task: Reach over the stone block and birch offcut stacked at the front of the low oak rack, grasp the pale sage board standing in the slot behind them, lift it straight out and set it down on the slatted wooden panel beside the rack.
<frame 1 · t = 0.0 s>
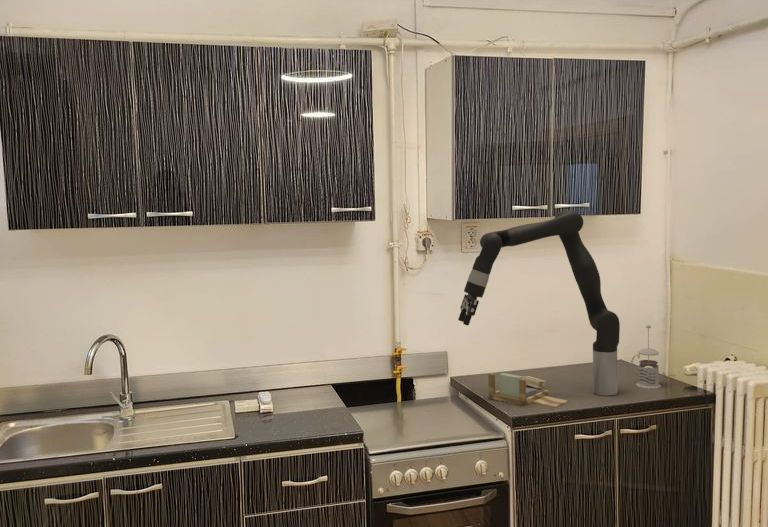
hand: (463, 322, 269), 31 cm above the counter, tool tilted 20°, fingers open, 8 cm apart
sage board: (511, 400, 273), resting in oak rack
birch offcut: (532, 385, 280), point 4 cm above the counter, tilted 12°, touching stone block
stone block: (527, 395, 281), on the counter, touching birch offcut
slatted wooden panel: (550, 402, 268), on the counter
french press: (646, 385, 287), on the counter
oak rack: (518, 397, 277), on the counter
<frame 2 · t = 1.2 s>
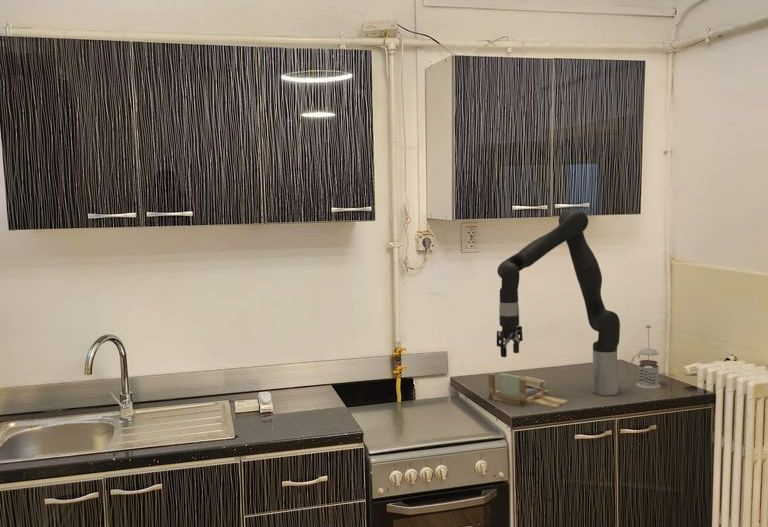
hand: (510, 354, 271), 18 cm above the counter, tool pointing down, fingers open, 8 cm apart
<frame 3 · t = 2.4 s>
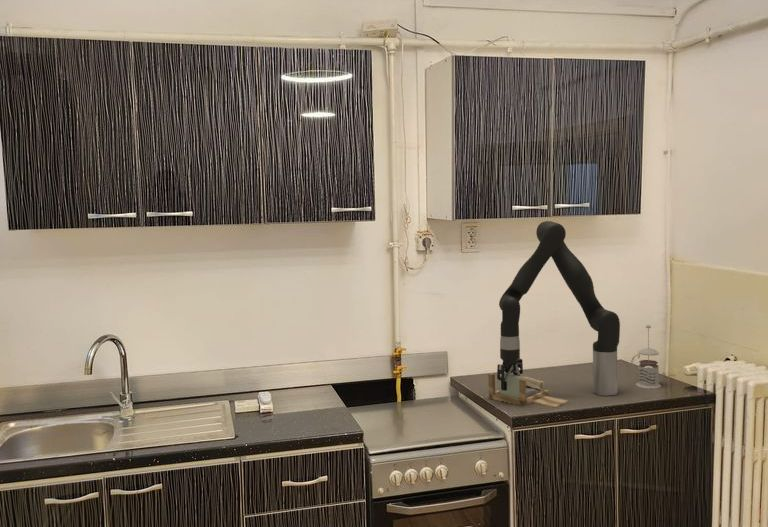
hand: (510, 387, 272), 5 cm above the counter, tool pointing down, fingers open, 8 cm apart
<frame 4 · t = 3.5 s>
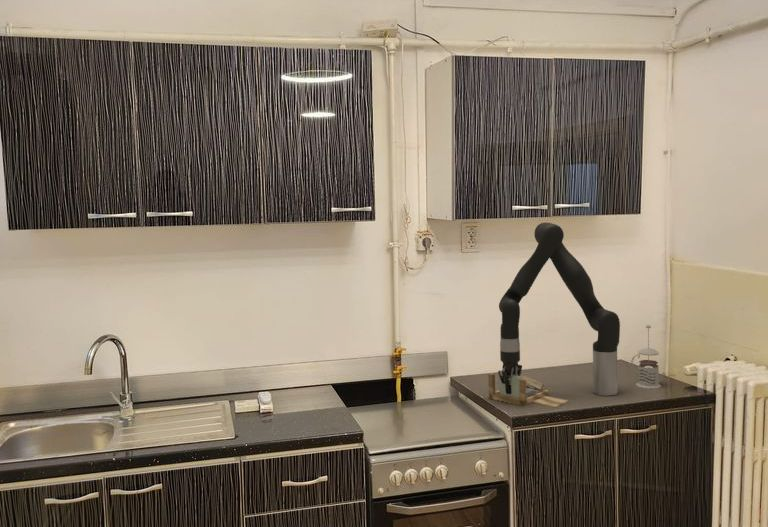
hand: (510, 392, 272), 3 cm above the counter, tool pointing down, fingers closed on sage board, 2 cm apart
sage board: (511, 400, 273), resting in oak rack, touching gripper
birch offcut: (531, 386, 281), point 3 cm above the counter, tilted 29°, touching stone block
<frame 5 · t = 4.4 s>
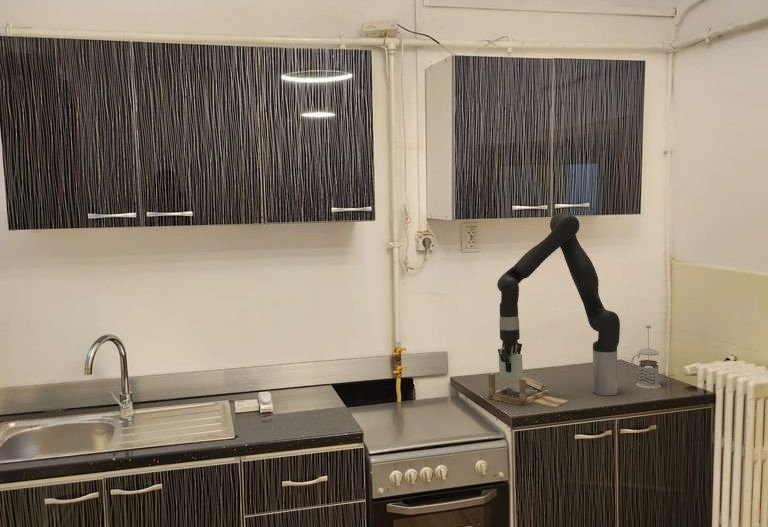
hand: (511, 371, 272), 12 cm above the counter, tool pointing down, fingers closed on sage board, 2 cm apart
sage board: (511, 378, 272), point 8 cm above the counter, touching gripper
birch offcut: (532, 387, 281), point 3 cm above the counter, tilted 32°
stone block: (523, 396, 279), on the counter
everything else where it was.
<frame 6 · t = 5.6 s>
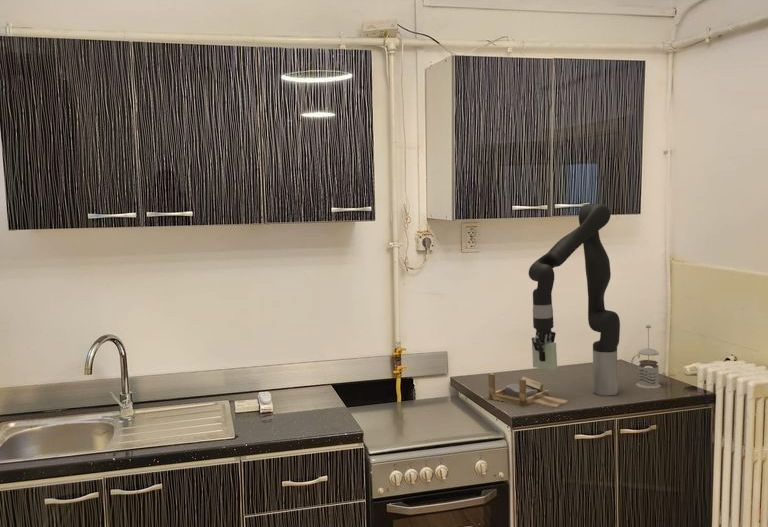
hand: (544, 360, 268), 16 cm above the counter, tool pointing down, fingers closed on sage board, 2 cm apart
sage board: (545, 367, 268), point 13 cm above the counter, touching gripper
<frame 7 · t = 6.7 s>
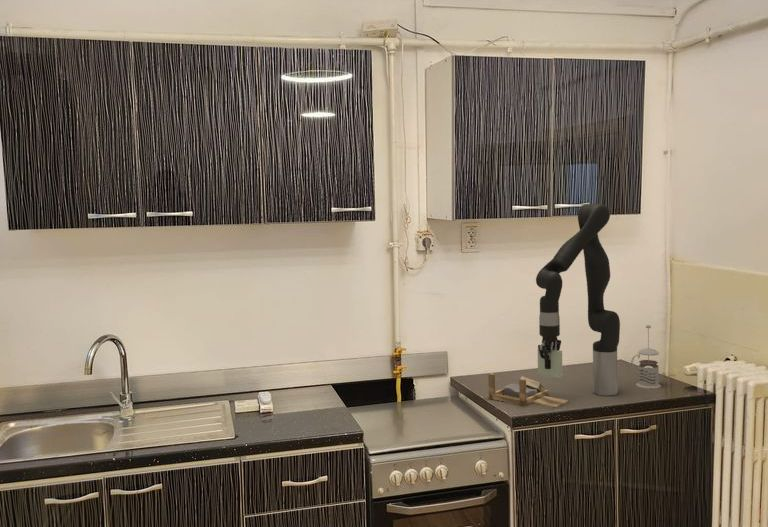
hand: (550, 367, 267), 14 cm above the counter, tool pointing down, fingers closed on sage board, 2 cm apart
sage board: (550, 375, 267), point 10 cm above the counter, touching gripper
when the fingers open (4 cm above the counter, at t = 8.9 s): sage board stays where it is, resting on slatted wooden panel.
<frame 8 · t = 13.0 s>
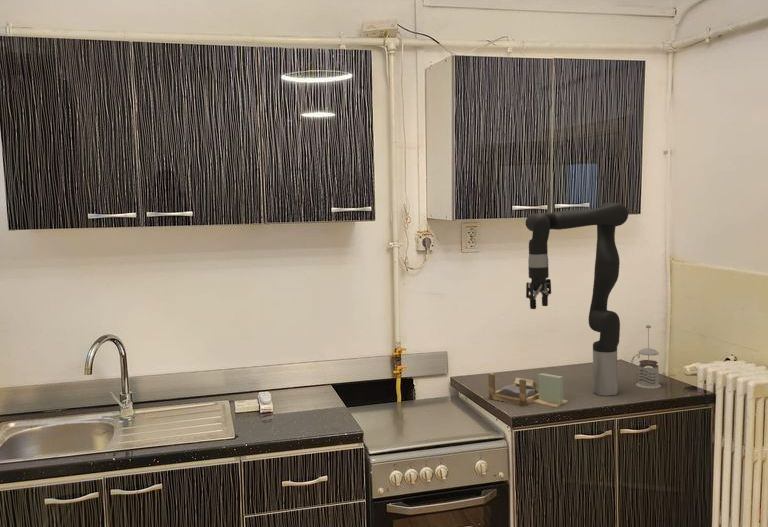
hand: (539, 307, 270), 36 cm above the counter, tool pointing down, fingers open, 8 cm apart
sage board: (550, 401, 268), point 1 cm above the counter, touching slatted wooden panel
birch offcut: (525, 387, 282), point 2 cm above the counter, tilted 41°, touching stone block
stone block: (519, 397, 279), on the counter, touching birch offcut
everything else where it was.
at the end: sage board inside the target area (0.2 cm from its centre), point 0.6 cm above the counter; sage board moved 15.2 cm from its start; the gripper is holding nothing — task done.
